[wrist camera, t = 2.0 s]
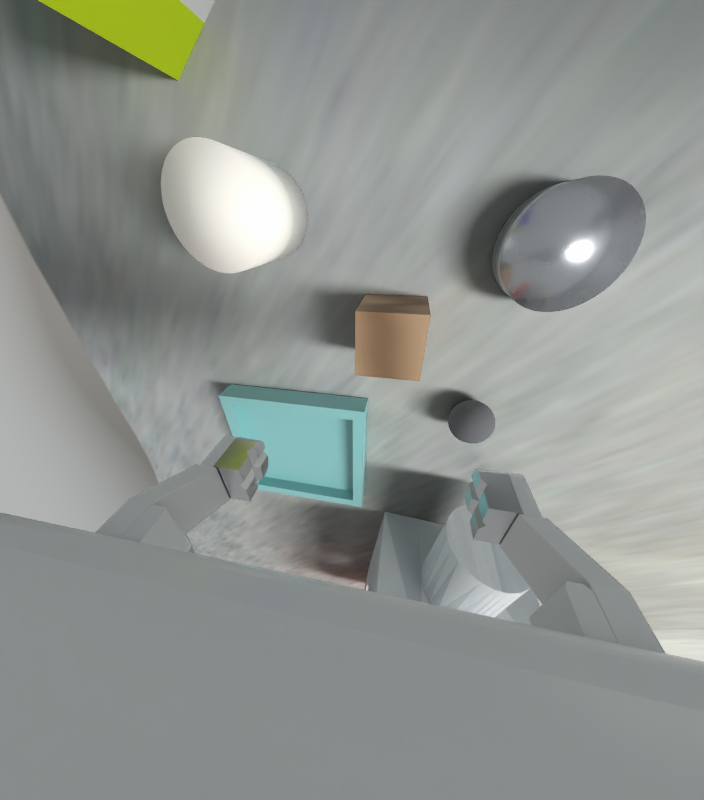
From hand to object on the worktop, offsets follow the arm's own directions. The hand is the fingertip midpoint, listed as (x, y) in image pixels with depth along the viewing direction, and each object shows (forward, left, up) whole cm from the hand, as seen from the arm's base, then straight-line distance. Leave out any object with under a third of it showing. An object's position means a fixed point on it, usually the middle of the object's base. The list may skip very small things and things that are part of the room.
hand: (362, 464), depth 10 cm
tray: (+10, +16, -16) cm, 25 cm away
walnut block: (0, 0, -16) cm, 16 cm away
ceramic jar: (+10, -8, -16) cm, 20 cm away
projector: (-10, +36, -16) cm, 40 cm away
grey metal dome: (-10, -6, -16) cm, 20 cm away
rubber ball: (-8, +8, -14) cm, 18 cm away
